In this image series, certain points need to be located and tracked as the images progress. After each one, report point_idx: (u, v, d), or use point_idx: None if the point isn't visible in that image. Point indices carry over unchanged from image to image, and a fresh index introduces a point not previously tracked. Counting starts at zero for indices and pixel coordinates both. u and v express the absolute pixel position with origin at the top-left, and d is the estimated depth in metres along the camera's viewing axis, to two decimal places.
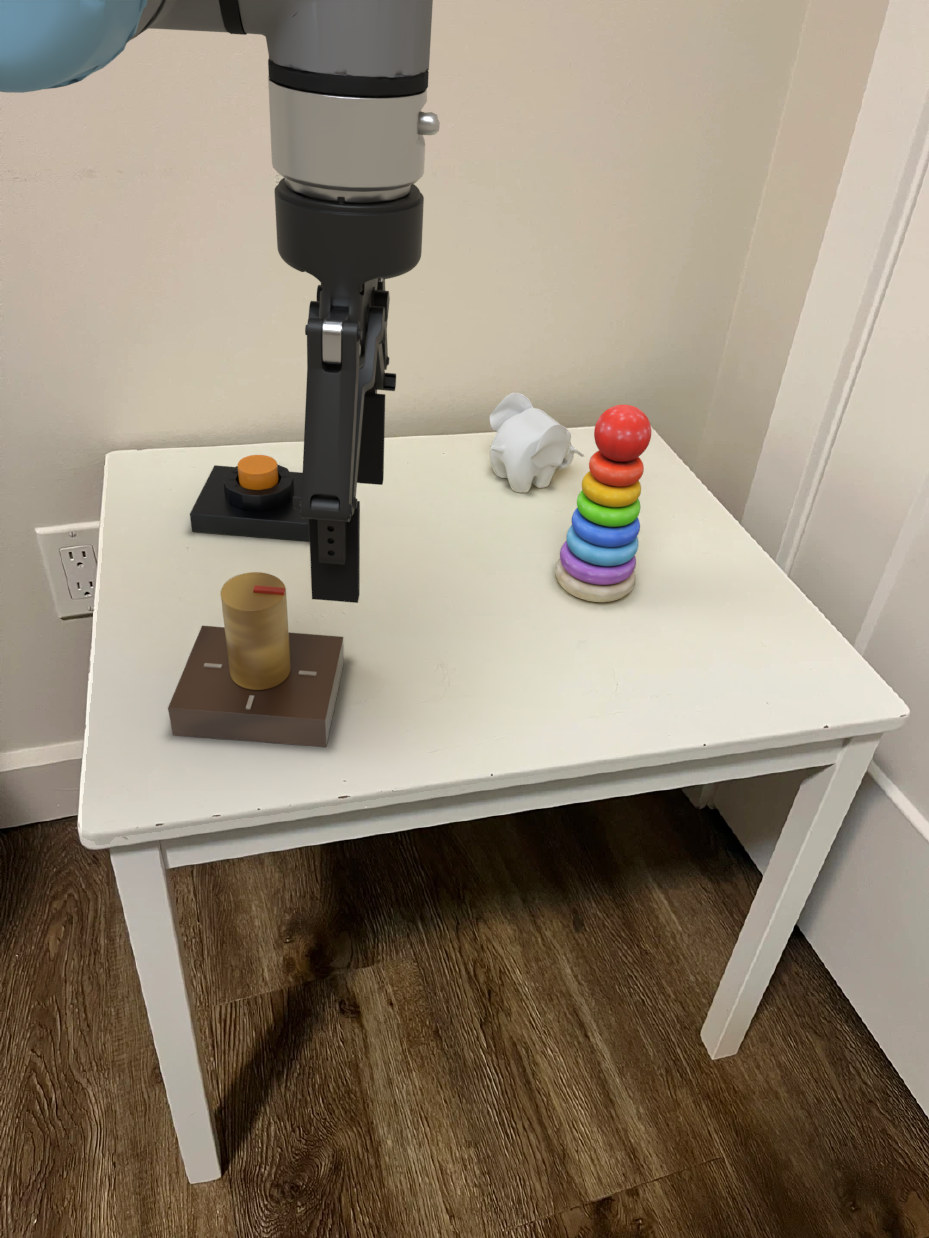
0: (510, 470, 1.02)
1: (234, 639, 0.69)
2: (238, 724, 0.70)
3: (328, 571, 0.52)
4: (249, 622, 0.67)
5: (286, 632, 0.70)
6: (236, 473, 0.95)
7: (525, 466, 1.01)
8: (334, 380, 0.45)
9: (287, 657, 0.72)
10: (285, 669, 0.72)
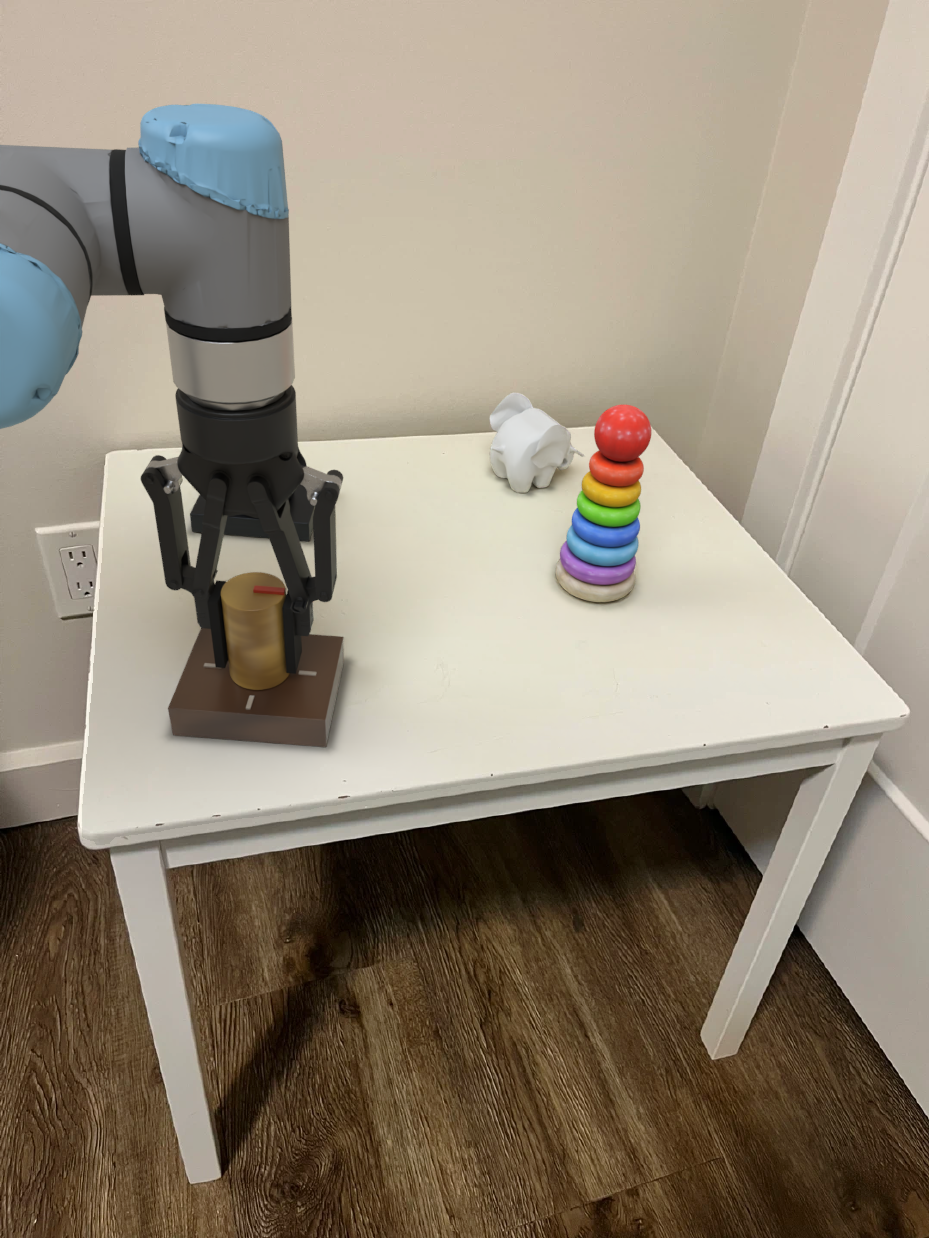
0: (510, 470, 1.02)
1: (234, 639, 0.69)
2: (238, 724, 0.70)
3: (297, 645, 0.71)
4: (249, 622, 0.67)
5: None
6: None
7: (525, 466, 1.01)
8: (333, 512, 0.64)
9: None
10: (285, 669, 0.72)
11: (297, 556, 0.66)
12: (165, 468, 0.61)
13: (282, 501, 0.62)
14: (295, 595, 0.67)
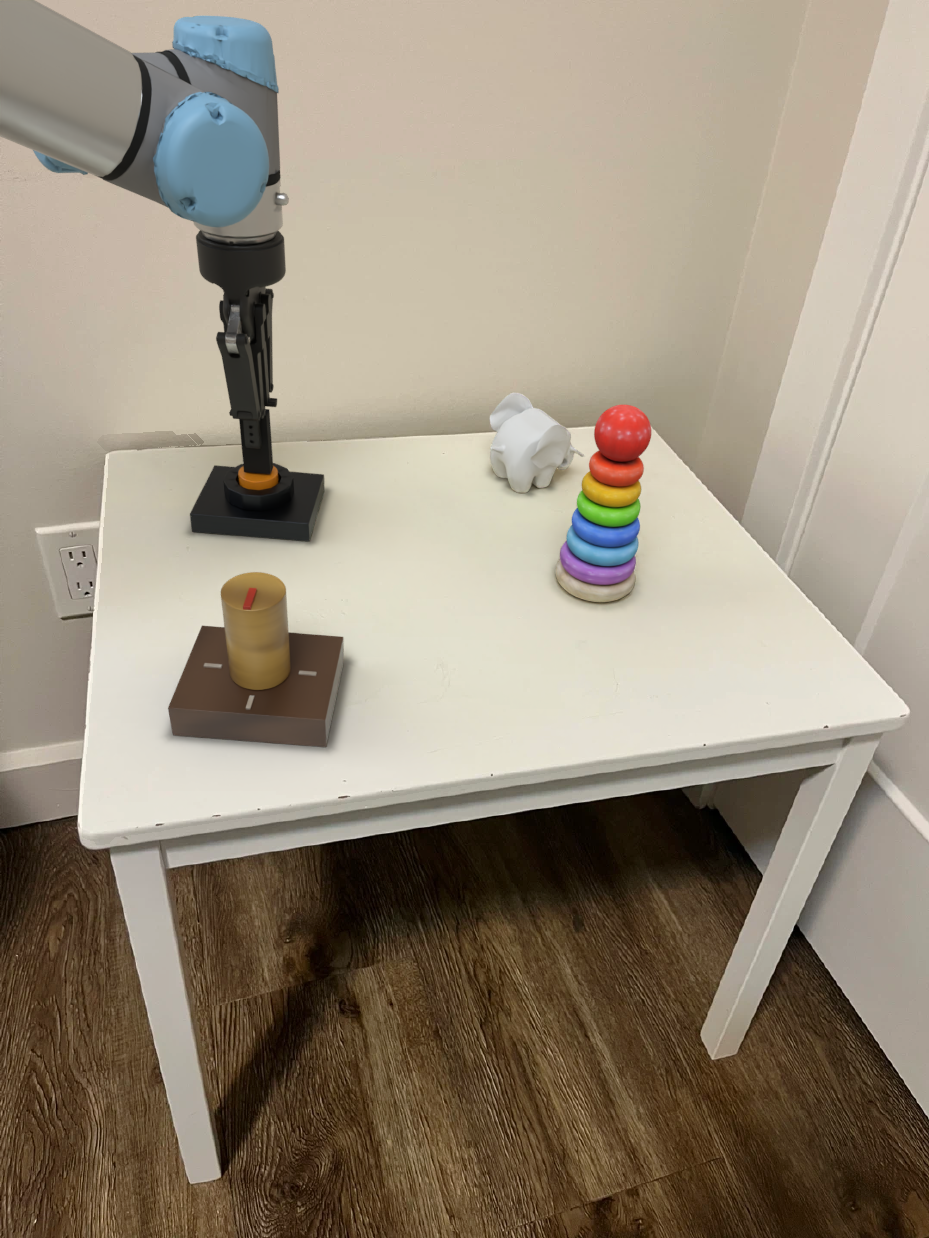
0: (510, 470, 1.02)
1: None
2: (238, 724, 0.70)
3: (252, 454, 0.92)
4: None
5: (245, 646, 0.69)
6: (236, 473, 0.95)
7: (525, 466, 1.01)
8: (237, 361, 0.81)
9: (247, 670, 0.70)
10: (242, 678, 0.71)
11: None
12: None
13: None
14: None
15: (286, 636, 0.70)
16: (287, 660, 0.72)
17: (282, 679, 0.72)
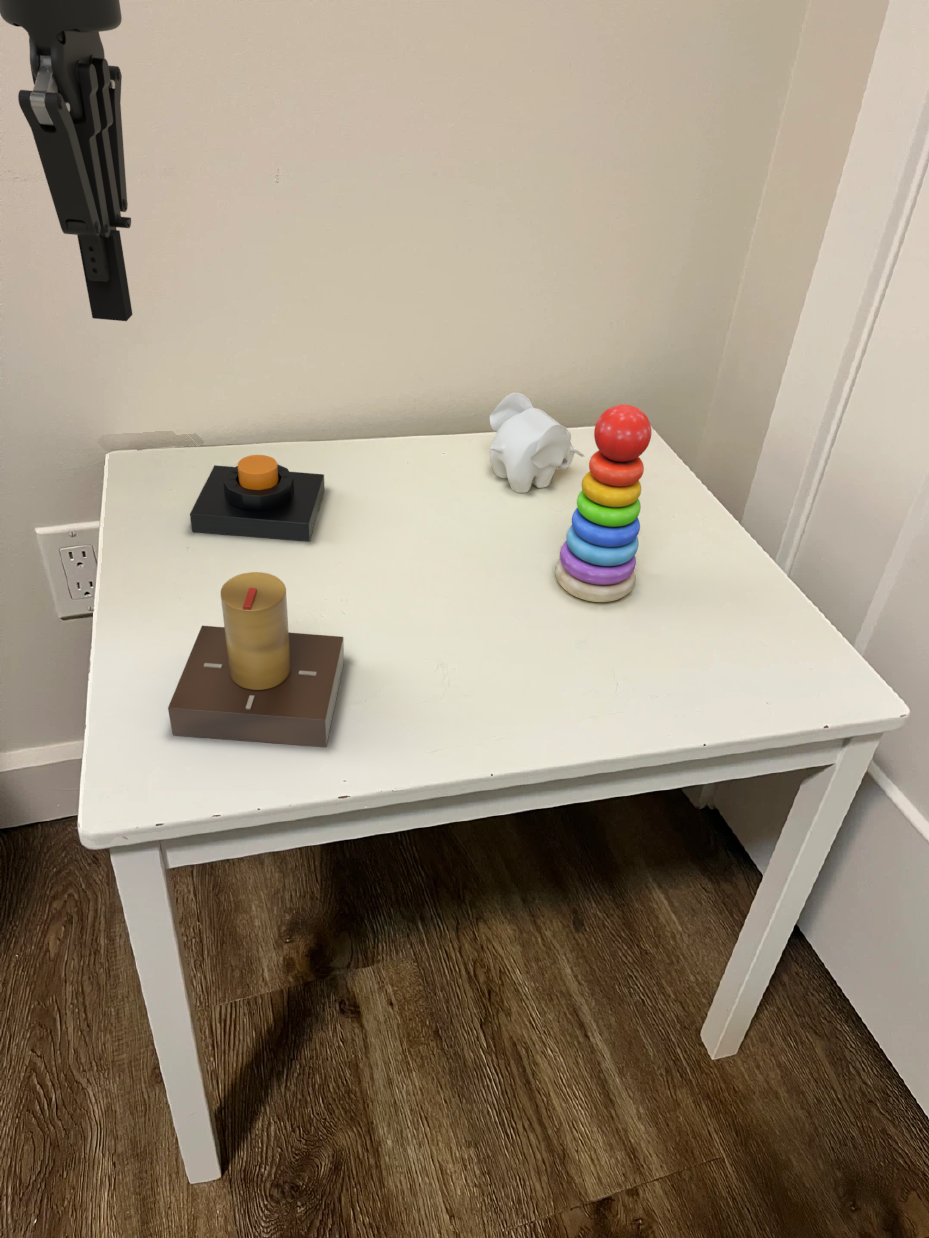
0: (510, 470, 1.02)
1: None
2: (238, 724, 0.70)
3: (100, 293, 0.71)
4: None
5: (245, 646, 0.69)
6: (236, 473, 0.95)
7: (525, 466, 1.01)
8: (54, 138, 0.60)
9: (247, 670, 0.70)
10: (242, 678, 0.71)
11: None
12: None
13: None
14: None
15: (286, 636, 0.70)
16: (287, 660, 0.72)
17: (282, 679, 0.72)
